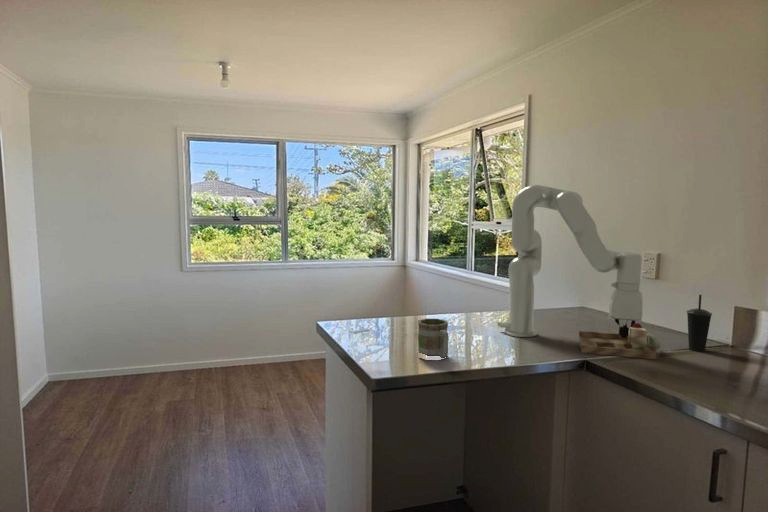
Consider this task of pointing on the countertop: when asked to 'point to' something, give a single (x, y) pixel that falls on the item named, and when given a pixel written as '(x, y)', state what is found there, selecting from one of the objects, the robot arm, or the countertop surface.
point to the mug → (433, 337)
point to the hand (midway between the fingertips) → (623, 337)
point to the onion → (636, 325)
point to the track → (617, 345)
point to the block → (637, 336)
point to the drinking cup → (698, 327)
